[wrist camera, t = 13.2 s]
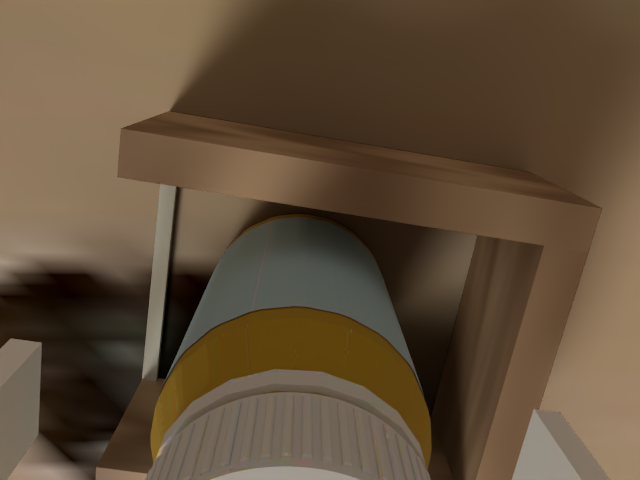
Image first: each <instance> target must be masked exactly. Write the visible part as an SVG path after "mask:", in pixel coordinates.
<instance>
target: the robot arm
mask: <svg viewBox="0 0 640 480" xmlns="http://www.w3.org/2000/svg"><path fill="white" fill-rule="evenodd" d="M41 347H42V343H40V342H32V341H25V340H17V339H10V340H9V341H8V342H7V343H6V344H5V345H4V346H3V347H2V348H1V349H0V480H7V478H8V477H9V476H10V474H11V473H12V471H13V470H14V468H15V467H16V466H17V464H18V463H19V461H20V460H21V459H22V457H23V456H24V454H25V453H26V451H27V450H28V449H29V447H30V446H31V444H32V443H33V441H34V440H35V439H36V437H37V436H38V424H39V398H40V373H41ZM512 480H610V479H609V477H608V476H607V474H606V473H605V472H604V470H603V469H602V468H601V466H600V465H599V464H598V462H597V461H596V460H595V458H594V457H593V456H592V454H591V453H590V452H589V450H588V449H587V447H586V446H585V445H584V443H583V442H582V441H581V439H580V438H579V437H578V435H577V434H576V433H575V431H574V430H573V429H572V427H571V426H570V425H569V423H568V422H567V421H566V419H565V418H564V416H563V415H562V414H561V412H553V411H546V410H538V409H534V410H533V413H532V416H531V419H530V423H529V426H528V429H527V432H526V436H525V439H524V442H523V445H522V448H521V452H520V455H519V458H518V461H517V464H516V468H515V471H514V474H513V477H512Z"/></svg>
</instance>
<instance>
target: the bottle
mask: <svg viewBox="0 0 640 480" xmlns="http://www.w3.org/2000/svg"><path fill="white" fill-rule="evenodd" d="M431 449H432V445H431V420H430V416H429V411H428V408H427V405H426V400H425V396H424V393H423V391H422V388H421V385H420V382H419V379H418V376H417V373H416V371H415V368H414V365H413V362H412V359H411V356H410V353H409V351H408V348H407V345H406V342H405V339H404V336H403V333H402V331H401V328H400V325H399V322H398V319H397V316H396V313H395V310H394V308H393V305H392V302H391V299H390V296H389V293H388V290H387V288H386V285H385V282H384V279H383V277H382V274H381V272H380V269H379V267H378V265H377V262H376V260H375V258H374V256H373V254H372V253H371V251H370V250H369V249H368V248H367V246H366V245H365V244H364V243H363V242H362V241H361V240H360V239H359V238H358V236H357V235H355V234H354V233H353V232H352V231H350V230H348V229H347V228H345V227H343V226H341V225H340V224H338V223H336V222H335V221H332V220H330V219H327V218H322V217H318V216H313V215H309V214H291V215H280V216H275V217H271V218H269V219H267V220H264V221H262V222H260V223H257V224H255V225H253V226H251V227H249V228H248V229H246V230H245V231H244V232H243V233H242V234H241V235H239V236H238V237H237V238H236V239H235V240H234V241H233V242H232V243H231V244H230V245H229V246H228V247H227V249H226V251H225V252H224V254H223V256H222V257H221V259H220V261H219V263H218V264H217V266H216V268H215V270H214V272H213V274H212V276H211V279H210V281H209V283H208V285H207V288H206V290H205V292H204V294H203V297H202V299H201V301H200V303H199V305H198V308H197V310H196V312H195V314H194V317H193V319H192V321H191V323H190V326H189V328H188V330H187V332H186V335H185V337H184V339H183V341H182V344H181V346H180V348H179V350H178V353H177V355H176V357H175V359H174V361H173V364H172V366H171V368H170V370H169V373H168V375H167V377H166V379H165V382H164V384H163V387H162V389H161V392H160V396H159V398H158V401H157V404H156V407H155V412H154V418H153V423H152V429H151V451H152V457H153V466H152V468H151V469H150V470H149V472H148V474H147V476H146V479H145V480H431V479H430V476H429V473H428V471H427V470H428V466H429V461H430V456H431Z"/></svg>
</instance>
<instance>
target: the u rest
mask: <svg viewBox="0 0 640 480" xmlns="http://www.w3.org/2000/svg"><path fill="white" fill-rule="evenodd" d="M117 177H120V178H126V179H132V180H139V181H145V182H151V183H157V184H160V193H159V204H158V215H157V225H156V236H155V247H154V257H153V268H152V279H151V289H150V300H149V311H148V321H147V332H146V343H145V353H144V364H143V375H142V381H141V383H140V384H139V386H138V388H137V390H136V392H135V394H134V396H133V398H132V400H131V402H130V404H129V406H128V408H127V409H126V411H125V413H124V415H123V417H122V419H121V421H120V423H119V425H118V427H117V429H116V431H115V433H114V434H113V436H112V438H111V440H110V442H109V444H108V446H107V448H106V450H105V452H104V454H103V456H102V458H101V459H100V461H99V463H98V465H97V467H96V480H145V479H146V476H147V474H148V472H149V470H150V469H151V468H152V466H153V457H152V451H151V429H152V423H153V418H154V412H155V407H156V404H157V401H158V398H159V396H160V392H161V389H162V387H163V384H164V382H165V379H162V378H158V371H159V361H160V351H161V342H162V332H163V322H164V312H165V303H166V293H167V283H168V273H169V264H170V254H171V244H172V234H173V225H174V215H175V205H176V195H177V187H182V188H188V189H195V190H201V191H207V192H213V193H220V194H226V195H232V196H238V197H244V198H251V199H257V200H263V201H269V202H276V203H282V204H288V205H294V206H300V207H307V208H313V209H319V210H325V211H332V212H338V213H344V214H350V215H357V216H363V217H369V218H375V219H381V220H388V221H394V222H400V223H406V224H413V225H419V226H425V227H431V228H438V229H444V230H450V231H456V232H462V233H469V234H475V235H478V236H477V240H476V244H475V248H474V252H473V255H472V259H471V263H470V267H469V271H468V275H467V279H466V283H465V287H464V290H463V294H462V298H461V302H460V306H459V310H458V314H457V318H456V322H455V325H454V329H453V333H452V337H451V341H450V345H449V349H448V353H447V357H446V360H445V364H444V368H443V372H442V376H441V380H440V384H439V388H438V392H437V395H436V399H435V403H434V407H433V411H432V415H431V416H430V420H431V445H432V449H431V456H430V461H429V466H428V470H427V471H428V473H429V476H430V479H431V480H512V477H513V474H514V471H515V468H516V464H517V461H518V458H519V455H520V452H521V448H522V445H523V442H524V439H525V436H526V432H527V429H528V426H529V423H530V419H531V416H532V413H533V410H534V409H538V410H539V407H540V404H541V401H542V398H543V395H544V391H545V388H546V385H547V382H548V379H549V376H550V372H551V369H552V366H553V363H554V360H555V357H556V353H557V350H558V347H559V344H560V341H561V338H562V334H563V331H564V328H565V325H566V322H567V319H568V315H569V312H570V309H571V306H572V303H573V300H574V296H575V293H576V290H577V287H578V284H579V281H580V277H581V274H582V271H583V268H584V265H585V262H586V258H587V255H588V252H589V249H590V246H591V243H592V239H593V236H594V233H595V230H596V227H597V224H598V220H599V217H600V214H601V211H602V208H600V207H598V206H596V205H594V204H592V203H590V202H588V201H586V200H584V199H582V198H580V197H578V196H576V195H574V194H572V193H570V192H568V191H566V190H564V189H562V188H560V187H558V186H556V185H554V184H552V183H550V182H548V181H546V180H544V179H542V178H540V177H538V176H536V175H534V174H532V173H530V172H525V171H519V170H513V169H507V168H501V167H496V166H490V165H484V164H478V163H472V162H466V161H460V160H454V159H448V158H442V157H436V156H430V155H425V154H419V153H413V152H407V151H401V150H395V149H389V148H383V147H377V146H371V145H365V144H360V143H354V142H348V141H342V140H336V139H330V138H324V137H318V136H312V135H306V134H300V133H294V132H289V131H283V130H277V129H271V128H265V127H259V126H253V125H247V124H241V123H235V122H229V121H223V120H218V119H212V118H206V117H200V116H194V115H188V114H182V113H176V112H170V111H168V112H166V113H163V114H160V115H157V116H154V117H152V118H149V119H146V120H143V121H141V122H138V123H135V124H132V125H130V126H127V127H124V128H121V135H120V149H119V162H118V176H117Z"/></svg>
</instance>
